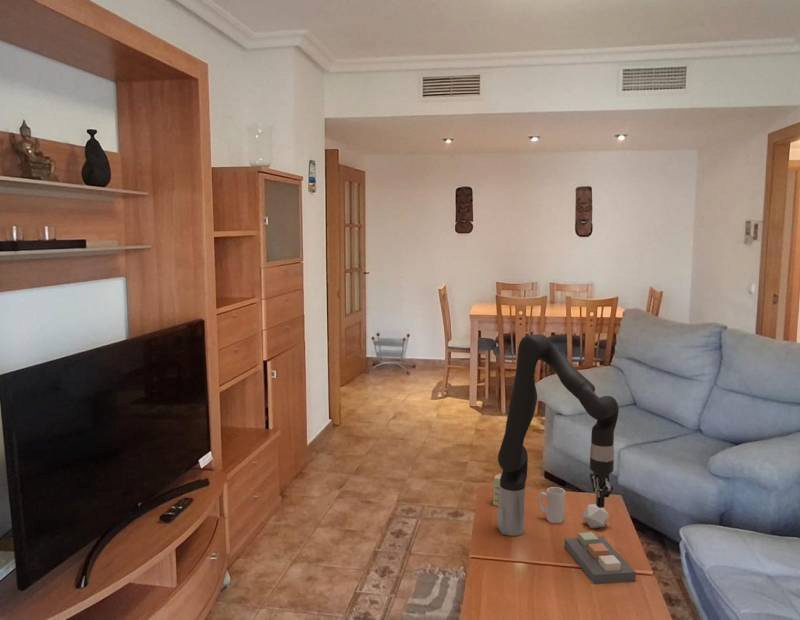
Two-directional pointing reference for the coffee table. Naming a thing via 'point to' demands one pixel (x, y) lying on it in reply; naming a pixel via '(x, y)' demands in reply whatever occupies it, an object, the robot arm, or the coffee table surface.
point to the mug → (553, 504)
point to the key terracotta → (597, 550)
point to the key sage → (587, 539)
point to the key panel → (592, 566)
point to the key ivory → (609, 563)
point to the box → (496, 490)
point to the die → (595, 516)
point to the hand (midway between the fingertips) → (600, 506)
